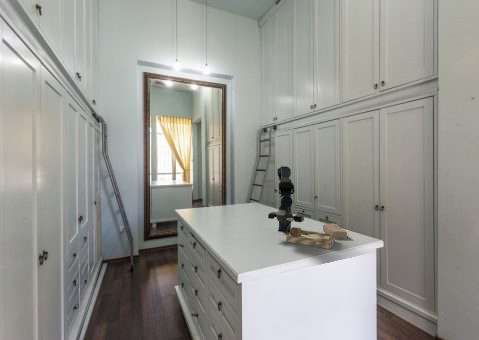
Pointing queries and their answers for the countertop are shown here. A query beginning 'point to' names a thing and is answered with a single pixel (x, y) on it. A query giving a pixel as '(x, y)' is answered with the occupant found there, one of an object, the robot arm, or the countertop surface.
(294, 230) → the walnut block
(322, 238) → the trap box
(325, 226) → the brick
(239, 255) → the countertop surface
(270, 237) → the countertop surface
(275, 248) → the countertop surface
